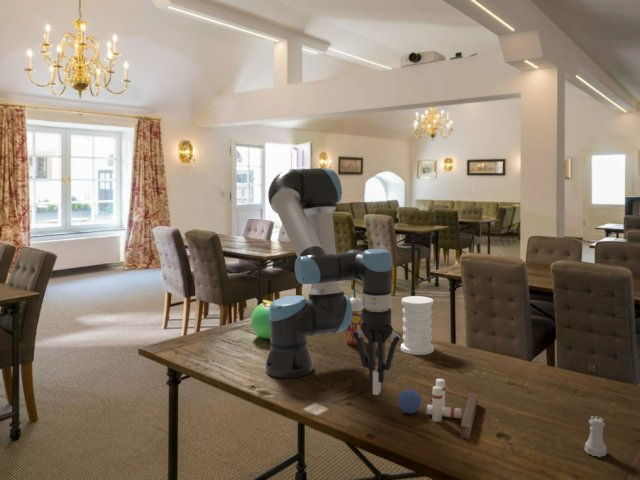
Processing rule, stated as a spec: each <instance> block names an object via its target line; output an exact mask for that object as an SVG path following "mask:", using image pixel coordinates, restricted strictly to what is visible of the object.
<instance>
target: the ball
mask: <svg viewBox="0 0 640 480" xmlns="http://www.w3.org/2000/svg"><path fill="white" fill-rule="evenodd" d="M397 400H398V401H397V403H398V406H399V409H401V411H403V412H404V413H406V414H415V413H416V412H418V411H419V410H420V408H421V406H422V398H421V395H419V393H418V392H417V391H415V390H413V389H405V390H402V391H401V392H400V394H399V396H398V399H397Z"/></svg>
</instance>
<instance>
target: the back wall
mask: <svg viewBox="0 0 640 480" xmlns="http://www.w3.org/2000/svg"><path fill="white" fill-rule="evenodd" d="M477 406H478V393H476V392H475V393H474V392H469V394H468V398H467V401H466V404H465V408H464V413H463V414H462V415H463V416H462V418H461V424H460V439H466V440H470V437H471V433H472V428H473V424H474V420H475V416H476V410H477Z"/></svg>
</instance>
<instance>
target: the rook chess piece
mask: <svg viewBox="0 0 640 480" xmlns="http://www.w3.org/2000/svg"><path fill="white" fill-rule="evenodd" d="M588 423H589V425H590V427H589V430H590V431H589V432H590V433H589V436H588V439H587V441H586V442H585V444H584V451H585V452H586V453H587V454H588V455H589V454H590V455H589V456H591V455H592V457H594V456H597V457H596V458H603V457H605V456H606V455H607V450H608V449H607V446H606V445H605V442H604V438H603V437H604V435H603V434H604V433H603V432H604V429H603V428H604V427H605V426H606V423H605V421H604V418H602V417H598V415H595V416H594V415H592V416H591V417H590V419H589V420H588ZM602 456H603V457H602Z"/></svg>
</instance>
